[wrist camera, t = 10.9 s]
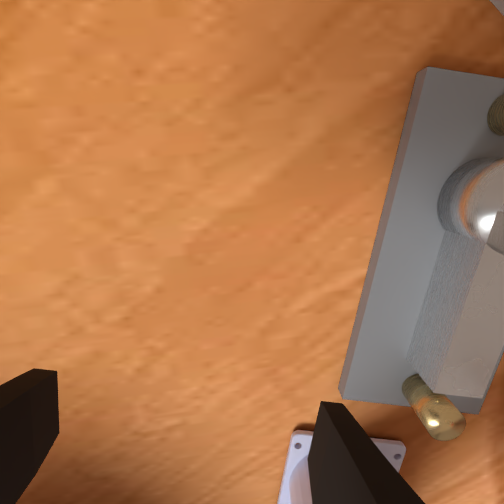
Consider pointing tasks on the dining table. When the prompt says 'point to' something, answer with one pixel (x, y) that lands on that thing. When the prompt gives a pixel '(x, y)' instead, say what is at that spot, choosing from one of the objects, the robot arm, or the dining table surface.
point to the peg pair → (414, 387)
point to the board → (416, 230)
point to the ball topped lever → (465, 285)
